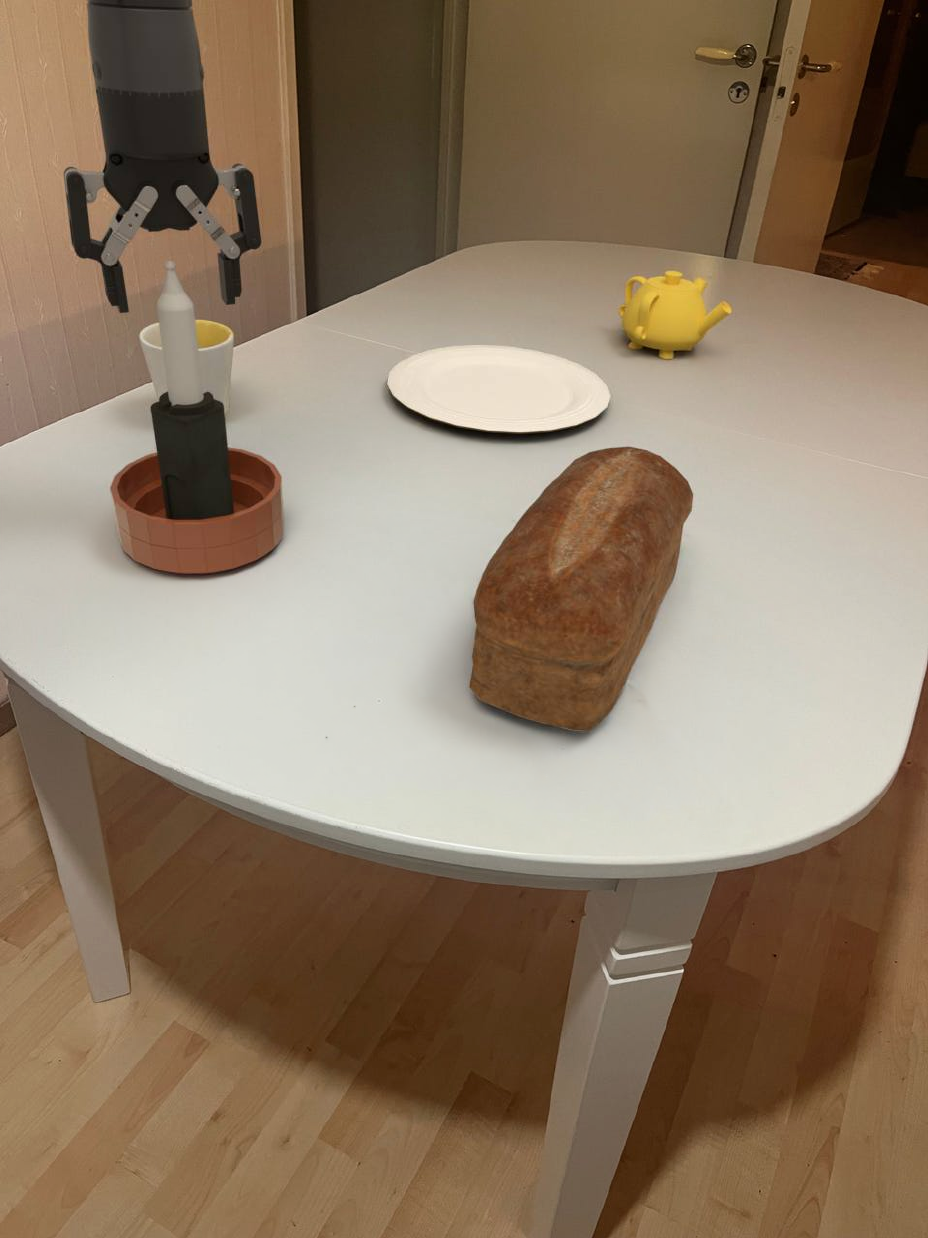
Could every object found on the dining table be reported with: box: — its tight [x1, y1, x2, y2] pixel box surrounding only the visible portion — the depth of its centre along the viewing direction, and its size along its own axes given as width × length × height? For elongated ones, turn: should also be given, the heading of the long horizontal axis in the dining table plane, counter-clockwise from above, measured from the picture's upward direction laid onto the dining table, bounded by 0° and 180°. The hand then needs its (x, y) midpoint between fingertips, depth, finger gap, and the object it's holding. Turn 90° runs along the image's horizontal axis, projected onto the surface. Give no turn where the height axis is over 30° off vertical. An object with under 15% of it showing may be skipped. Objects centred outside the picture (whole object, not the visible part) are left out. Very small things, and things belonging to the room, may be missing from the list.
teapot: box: [618, 270, 732, 360], centre depth 138 cm, size 14×14×11 cm
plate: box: [387, 344, 611, 435], centre depth 121 cm, size 29×29×2 cm
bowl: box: [109, 446, 285, 575], centre depth 87 cm, size 15×15×6 cm
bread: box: [468, 446, 694, 732], centre depth 77 cm, size 12×31×14 cm, turn 157°
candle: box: [150, 260, 234, 520], centre depth 81 cm, size 5×5×25 cm
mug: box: [138, 318, 235, 415], centre depth 108 cm, size 14×10×10 cm
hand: (176, 305), depth 76 cm, fingers open, 8 cm apart
